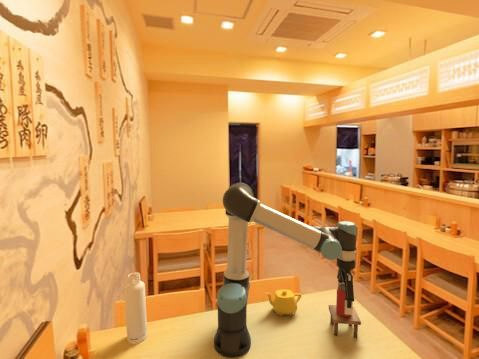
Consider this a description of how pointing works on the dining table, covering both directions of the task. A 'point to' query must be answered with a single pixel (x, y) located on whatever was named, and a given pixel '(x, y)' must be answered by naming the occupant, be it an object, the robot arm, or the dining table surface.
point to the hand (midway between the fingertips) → (344, 304)
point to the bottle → (135, 309)
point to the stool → (344, 320)
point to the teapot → (284, 302)
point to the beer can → (341, 301)
